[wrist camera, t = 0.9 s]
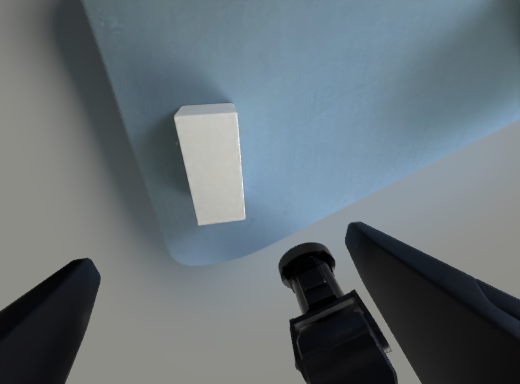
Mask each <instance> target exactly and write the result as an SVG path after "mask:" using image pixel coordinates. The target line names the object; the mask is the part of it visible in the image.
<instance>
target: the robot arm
mask: <svg viewBox="0 0 520 384" xmlns="http://www.w3.org/2000/svg"><path fill="white" fill-rule="evenodd" d="M345 244H346V246H347V249H348V251H349V253H350V255H351V257H352V260H353V262H354V264H355V266H356V269H357V270H358V273H359V275H360V277H361V279H362V281H363V283H364V285H365V287H366V289H367V290H368V292H369V294H370V295H371V297H372V299H373V301H374V302H375V304H376V306H377V308H378V309H379V311H380V313H381V314H382V316H383V318H384V320H385V321H386V323H387V325H388V326H389V328H390V330H391V332H392V333H393V335H394V337H395V338H396V340H397V342H398V344H399V345H400V347H401V349H402V351H403V352H404V354H405V355H406V358H407V359H408V361H409V363H410V364H411V366H412V368H413V370H414V371H415V373H416V375H417V376H418V378H419V380H420V381H421V383H422V384H520V299H518V298H516V297H513V296H511V295H509V294H507V293H505V292H503V291H501V290H499V289H497V288H495V287H493V286H491V285H488V284H486V283H484V282H482V281H480V280H478V279H475V278H474V277H472V276H470V275H468V274H466V273H464V272H462V271H460V270H458V269H456V268H454V267H452V266H450V265H448V264H446V263H444V262H442V261H440V260H438V259H436V258H434V257H432V256H430V255H428V254H425V253H423V252H421V251H419V250H417V249H415V248H413V247H411V246H409V245H407V244H405V243H403V242H401V241H399V240H397V239H395V238H393V237H391V236H389V235H387V234H385V233H383V232H381V231H379V230H376V229H375V228H372V227H371V226H369V225H366V224H364V223H362V222H352V223H350V224H349V225H348V228H347V233H346V237H345ZM282 271H283V273H284V275H285V277H286V279H287V281H288V283H289V285H290V286H291V288H292V290H293V292H294V293H295V294H296V297H297V300H298V303H299V306H300V309H301V311H302V315H301V316H299V317H296V318H292V319H290V333H291V338H292V344H293V350H294V356H295V367H296V369H297V370H298V371H300V372H301V373H302V375H303V378H304V380H305V381H306V383H307V384H398V379H397V375H396V372H395V370H394V368H393V367H392V364H391V363H390V361H389V359H388V357H387V356H386V353H388V352H391V351H392V350H391V348H390V346H389V344H388V342H387V340H386V339H385V337H384V336H383V333H382V332H381V330H380V329H379V327H378V325H377V323H376V322H375V320H374V319H373V317H372V315H371V314H370V312H369V311H368V309H367V308H366V306H365V305H364V303H363V302H362V300H361V299H360V297H359V295H358V294H357V293H356V291H355V290H352V291H351V292H350V293H348V294H346V295H344V294H343V292H342V290H341V288H340V286H339V284H338V283H337V281H336V279H335V276H334V273H333V270H332V267H331V264H330V260H329V257H328V254H327V252H326V251H325V250H321V251H319V252H316V253H314V254H312V255H309V256H307V257H304V258H302V259H300V260H297V261H295V262H292V263H290V264H287V265H285V266H283V267H282ZM100 279H101V277H100V274H99V272H98V270H97V269H96V267H95V265H94V264H93V262H92V260H91V259H89V258H84V259H77V260H73V261H71V262H70V263H69V264H67V265H66V266H64V267H63V268H61V269H60V270H59V271H57V272H56V273H54V274H53V275H51V276H50V277H48V278H47V279H46V280H44V281H43V282H41V283H40V284H38V285H37V286H36V287H34V288H33V289H31V290H30V291H28V292H27V293H25V294H24V295H23V296H21V297H20V298H18V299H17V300H16V301H14V302H13V303H11V304H10V305H8V306H7V307H6V308H4V309H3V310H1V311H0V384H65V382H66V380H67V378H68V375H69V372H70V370H71V367H72V365H73V363H74V360H75V358H76V355H77V352H78V350H79V347H80V345H81V342H82V340H83V337H84V334H85V332H86V329H87V326H88V323H89V319H90V316H91V313H92V309H93V306H94V302H95V298H96V295H97V292H98V288H99V285H100Z"/></svg>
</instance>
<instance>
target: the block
mask: <svg viewBox="0 0 520 384" xmlns="http://www.w3.org/2000/svg"><path fill="white" fill-rule="evenodd" d="M174 121H175V125H176V129H177V134H178V138H179V143H180V147H181V152H182V156H183V160H184V165H185V169H186V174H187V178H188V182H189V187H190V191H191V196H192V200H193V205H194V209H195V213H196V218H197V222H198V226H200V225H208V224H215V223H223V222H230V221H238V220H245V205H244V192H243V180H242V167H241V154H240V142H239V129H238V117H237V110H236V109H235V107H234V105H233V103H221V104H204V105H187V106H181V108H180V109H179V110H178V112H177V113H176V114H175V116H174Z"/></svg>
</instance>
